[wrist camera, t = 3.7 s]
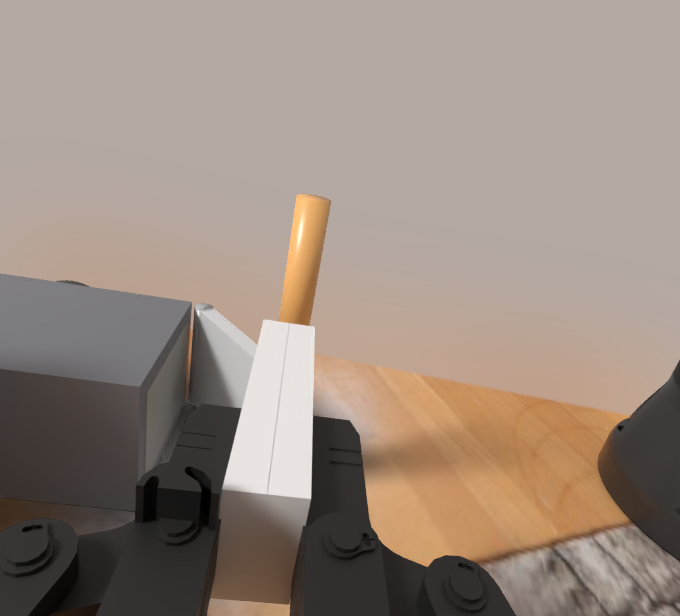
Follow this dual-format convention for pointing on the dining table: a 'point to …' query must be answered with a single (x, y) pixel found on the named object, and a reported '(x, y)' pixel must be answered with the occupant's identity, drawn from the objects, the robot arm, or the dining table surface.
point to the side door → (296, 307)
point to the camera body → (86, 389)
